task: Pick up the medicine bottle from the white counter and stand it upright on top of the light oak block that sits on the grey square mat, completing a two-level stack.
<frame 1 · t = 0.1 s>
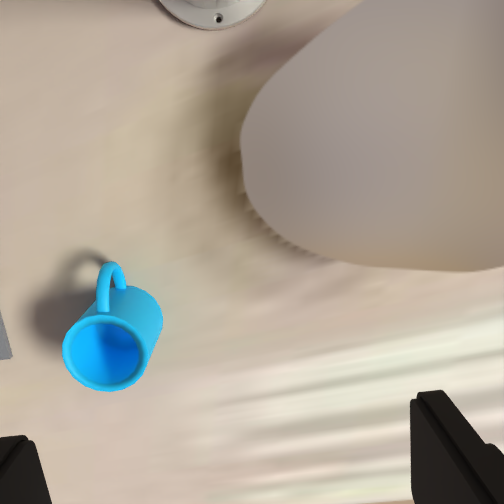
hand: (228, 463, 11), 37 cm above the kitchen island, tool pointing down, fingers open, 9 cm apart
mug: (125, 302, 49), on the kitchen island
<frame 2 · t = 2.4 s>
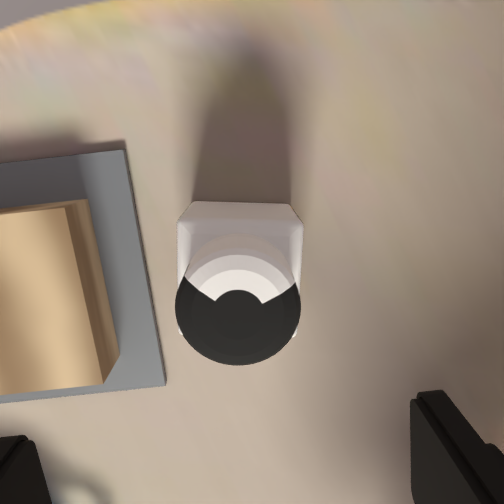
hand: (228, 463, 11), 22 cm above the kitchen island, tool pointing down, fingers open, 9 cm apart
grey square mat: (26, 287, 32), on the kitchen island
medicine bottle: (240, 249, 32), on the kitchen island
oak block: (22, 289, 31), point 1 cm above the kitchen island, touching grey square mat
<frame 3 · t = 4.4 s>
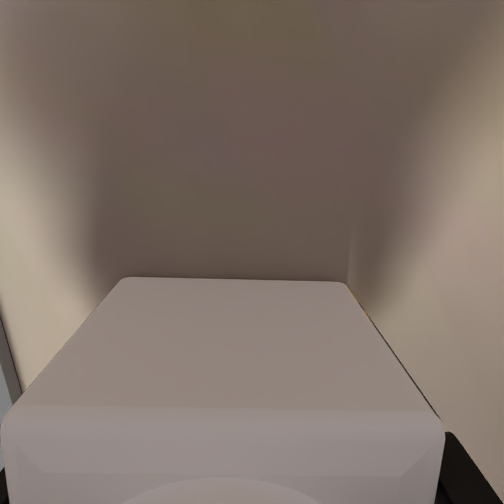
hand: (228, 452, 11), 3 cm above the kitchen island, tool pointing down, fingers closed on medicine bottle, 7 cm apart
medicine bottle: (232, 374, 15), on the kitchen island, touching gripper
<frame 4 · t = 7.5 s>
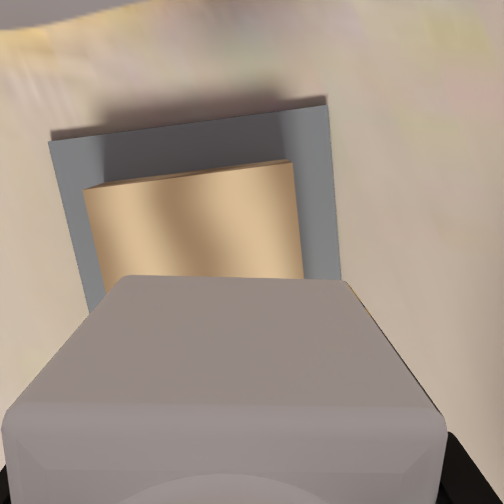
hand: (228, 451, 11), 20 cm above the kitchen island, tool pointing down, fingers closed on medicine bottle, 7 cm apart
grey square mat: (209, 255, 30), on the kitchen island
medicine bottle: (233, 372, 15), point 16 cm above the kitchen island, touching gripper
oak block: (208, 258, 30), point 1 cm above the kitchen island, touching grey square mat
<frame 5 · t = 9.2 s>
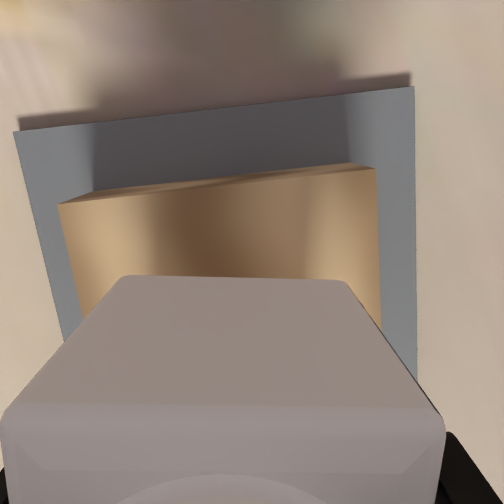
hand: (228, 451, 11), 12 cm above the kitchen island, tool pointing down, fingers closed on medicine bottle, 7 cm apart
grey square mat: (236, 293, 22), on the kitchen island
medicine bottle: (232, 373, 15), point 8 cm above the kitchen island, touching gripper
oak block: (236, 297, 22), point 1 cm above the kitchen island, touching grey square mat
when the fingers open (9 cm above the kitchen island, at t = 10.7 s): medicine bottle drops 1 cm, resting on oak block.
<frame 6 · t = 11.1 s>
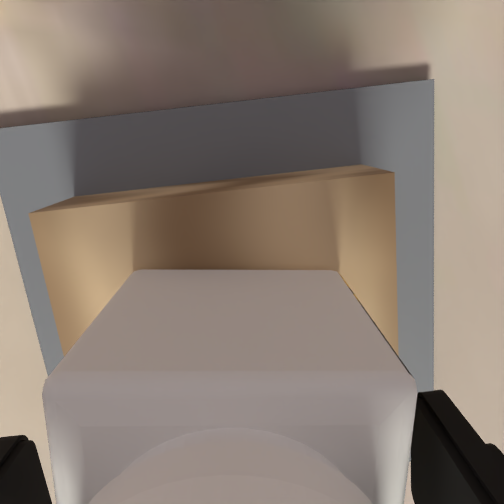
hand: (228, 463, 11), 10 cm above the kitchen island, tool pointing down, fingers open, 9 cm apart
grey square mat: (235, 308, 20), on the kitchen island
medicine bottle: (236, 358, 16), point 4 cm above the kitchen island, touching oak block
oak block: (234, 313, 19), point 1 cm above the kitchen island, touching grey square mat, medicine bottle
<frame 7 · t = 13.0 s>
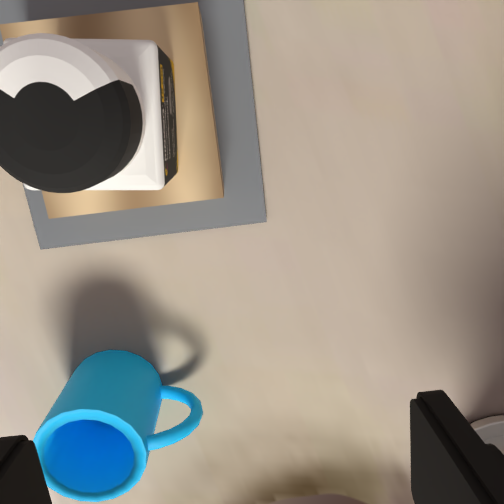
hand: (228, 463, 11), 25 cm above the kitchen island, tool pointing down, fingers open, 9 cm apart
grey square mat: (133, 117, 32), on the kitchen island
medicine bottle: (121, 118, 28), point 4 cm above the kitchen island, touching oak block
mug: (139, 386, 39), on the kitchen island
oak block: (132, 117, 32), point 1 cm above the kitchen island, touching grey square mat, medicine bottle
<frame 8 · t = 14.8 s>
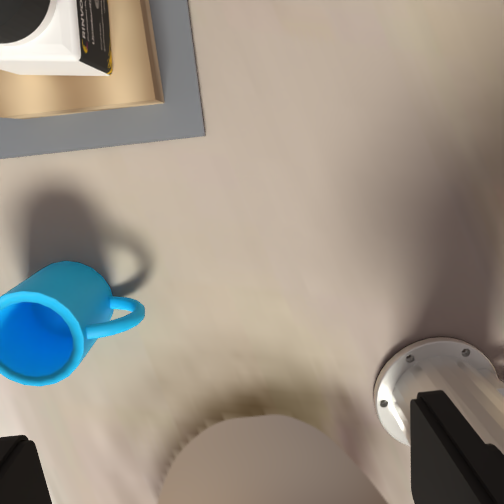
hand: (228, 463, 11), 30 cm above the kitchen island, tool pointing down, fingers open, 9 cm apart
grey square mat: (81, 35, 35), on the kitchen island
medicine bottle: (61, 23, 31), point 4 cm above the kitchen island, touching oak block
mug: (92, 299, 42), on the kitchen island
oak block: (79, 33, 35), point 1 cm above the kitchen island, touching grey square mat, medicine bottle
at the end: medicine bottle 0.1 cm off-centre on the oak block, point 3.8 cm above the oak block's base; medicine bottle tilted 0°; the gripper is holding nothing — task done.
